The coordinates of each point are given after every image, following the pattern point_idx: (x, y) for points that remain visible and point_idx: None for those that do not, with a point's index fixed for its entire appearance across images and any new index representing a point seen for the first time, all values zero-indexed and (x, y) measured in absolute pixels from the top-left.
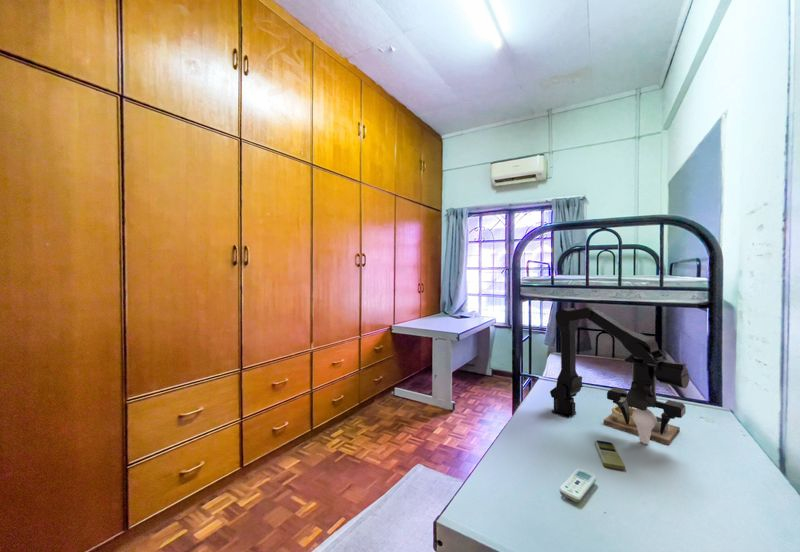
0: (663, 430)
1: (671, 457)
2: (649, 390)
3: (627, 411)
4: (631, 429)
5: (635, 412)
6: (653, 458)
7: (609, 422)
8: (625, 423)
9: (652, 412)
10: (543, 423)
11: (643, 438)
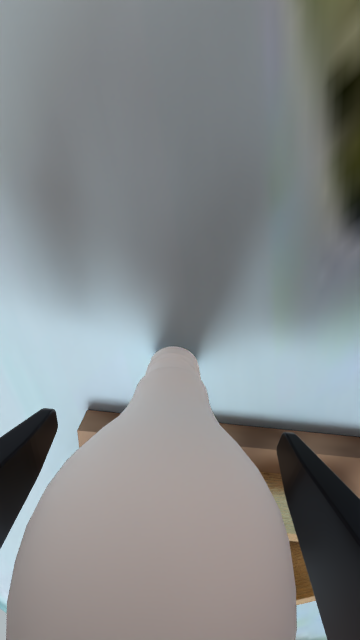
0: (1, 438)
1: (31, 288)
2: None
3: (345, 592)
4: (247, 442)
5: (267, 632)
6: (90, 189)
7: (356, 453)
8: (279, 477)
9: None
10: None
11: (172, 360)
